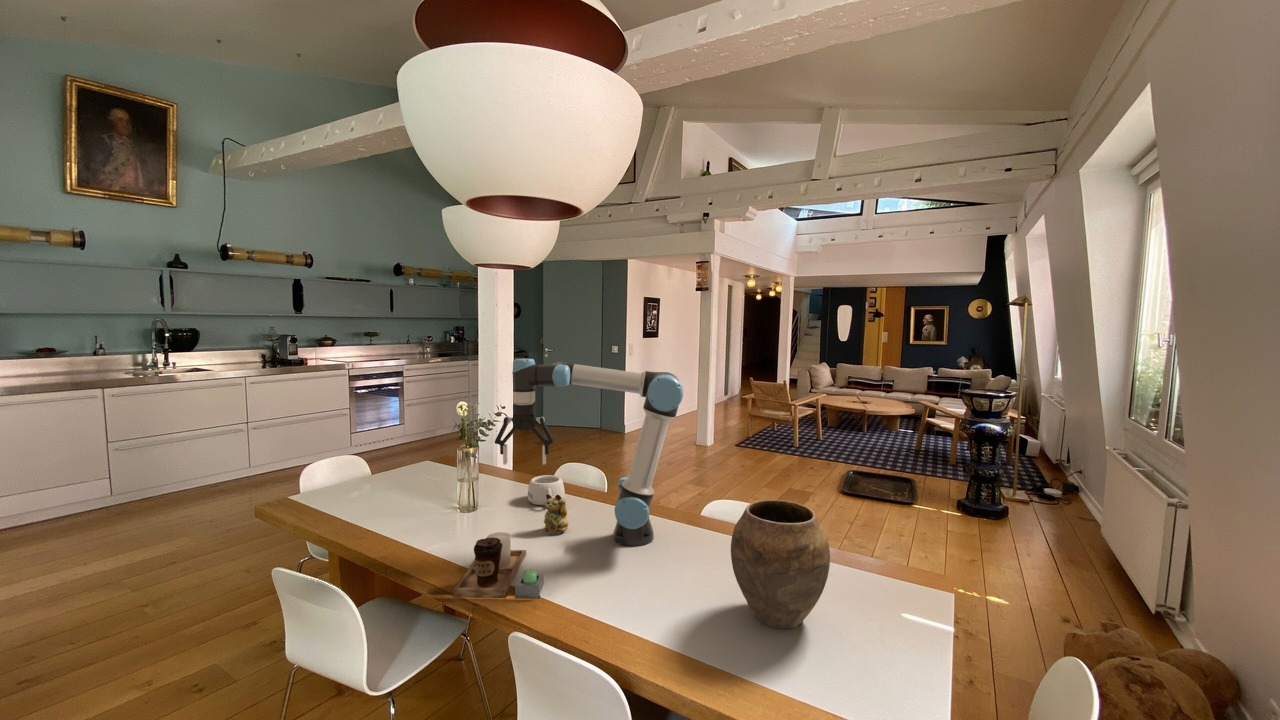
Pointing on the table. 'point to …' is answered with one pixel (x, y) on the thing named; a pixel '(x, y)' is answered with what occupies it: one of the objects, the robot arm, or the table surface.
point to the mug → (544, 488)
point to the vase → (780, 561)
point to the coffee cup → (487, 561)
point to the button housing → (529, 588)
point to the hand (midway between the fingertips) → (524, 463)
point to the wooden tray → (473, 590)
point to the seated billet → (503, 547)
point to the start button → (529, 576)
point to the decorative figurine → (555, 514)
